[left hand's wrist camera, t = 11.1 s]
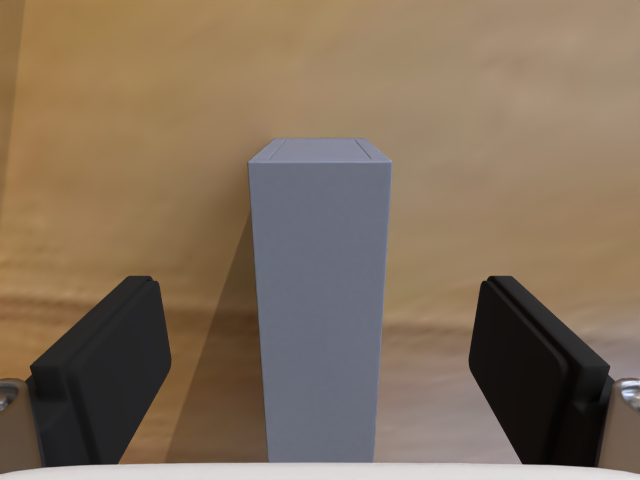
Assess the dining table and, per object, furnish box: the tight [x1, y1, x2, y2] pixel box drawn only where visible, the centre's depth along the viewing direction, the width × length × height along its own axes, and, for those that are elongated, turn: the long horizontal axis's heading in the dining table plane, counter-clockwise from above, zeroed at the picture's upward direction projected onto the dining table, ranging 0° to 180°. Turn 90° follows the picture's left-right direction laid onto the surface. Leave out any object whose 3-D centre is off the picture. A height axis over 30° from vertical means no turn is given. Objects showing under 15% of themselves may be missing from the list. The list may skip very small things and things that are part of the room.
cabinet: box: [247, 138, 393, 463], centre depth 24 cm, size 19×6×10 cm, turn 0°
